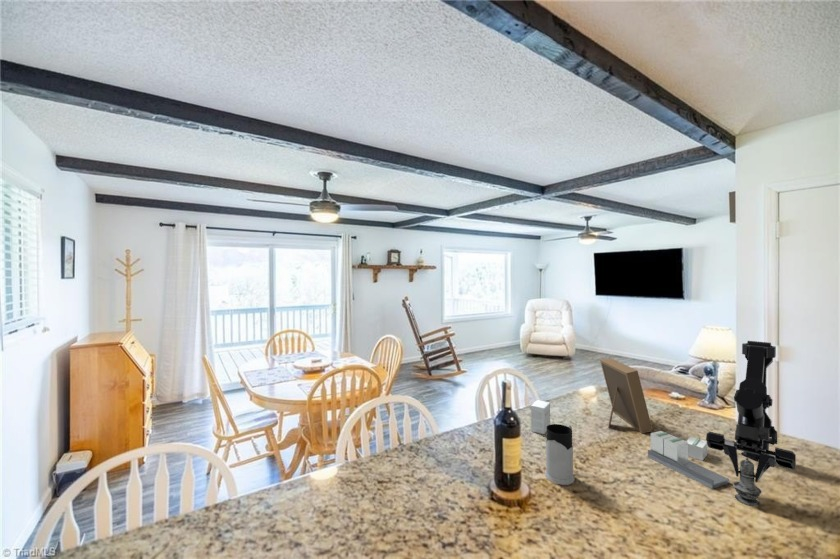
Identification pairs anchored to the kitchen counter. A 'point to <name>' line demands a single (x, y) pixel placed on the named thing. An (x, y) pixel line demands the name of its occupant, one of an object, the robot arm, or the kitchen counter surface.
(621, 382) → the photo frame
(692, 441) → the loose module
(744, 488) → the dark grey tall piece
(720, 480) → the rail
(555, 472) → the glass holder
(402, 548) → the kitchen counter surface
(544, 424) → the small box
